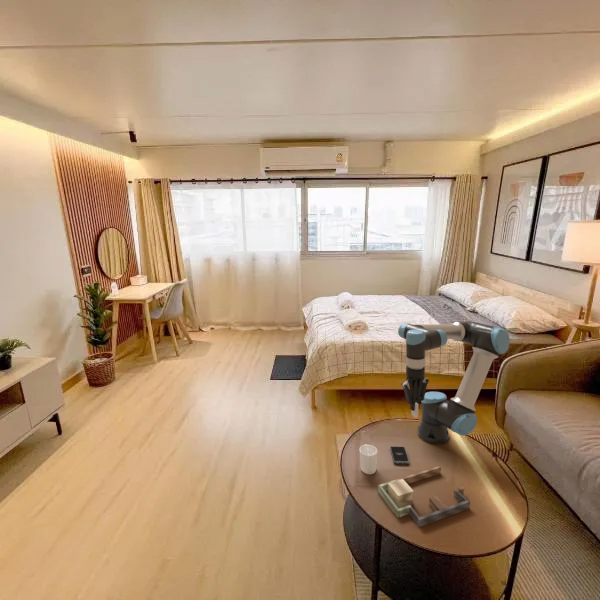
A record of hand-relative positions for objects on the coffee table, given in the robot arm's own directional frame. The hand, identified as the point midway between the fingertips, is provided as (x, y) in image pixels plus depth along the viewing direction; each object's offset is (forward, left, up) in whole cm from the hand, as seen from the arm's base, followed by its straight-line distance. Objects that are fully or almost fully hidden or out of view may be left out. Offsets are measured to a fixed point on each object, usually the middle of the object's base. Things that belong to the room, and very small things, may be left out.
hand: (414, 416), depth 143 cm
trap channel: (+7, +16, -26) cm, 31 cm away
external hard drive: (+1, -9, -27) cm, 28 cm away
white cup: (+19, -7, -26) cm, 33 cm away
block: (+16, +13, -26) cm, 33 cm away
